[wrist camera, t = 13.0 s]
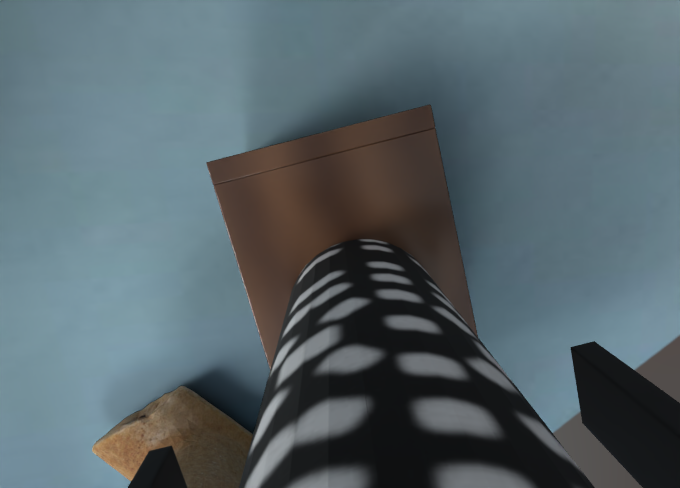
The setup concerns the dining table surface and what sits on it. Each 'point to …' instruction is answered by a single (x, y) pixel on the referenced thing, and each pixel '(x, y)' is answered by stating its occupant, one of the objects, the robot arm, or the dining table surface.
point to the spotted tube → (392, 389)
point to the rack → (339, 208)
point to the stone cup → (180, 440)
